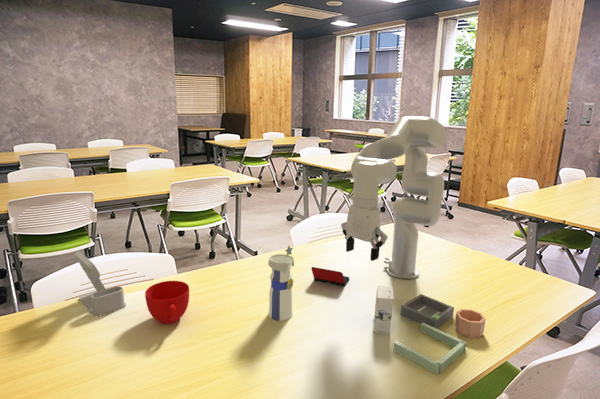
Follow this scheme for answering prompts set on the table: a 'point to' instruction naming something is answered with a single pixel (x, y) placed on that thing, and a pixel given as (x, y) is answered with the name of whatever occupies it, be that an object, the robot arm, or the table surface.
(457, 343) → the pale green horseshoe bracket
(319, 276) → the handheld game console
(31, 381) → the table surface
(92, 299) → the grey hollow angled piece
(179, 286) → the ceramic cup
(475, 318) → the cup
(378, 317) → the ink box
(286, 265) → the water bottle
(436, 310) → the tray
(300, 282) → the table surface
